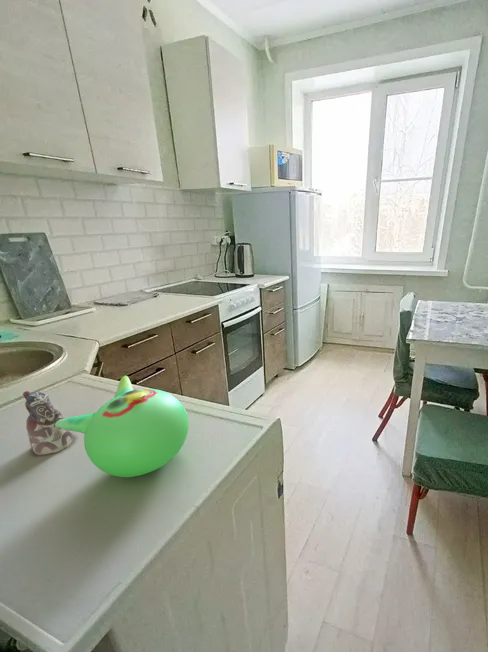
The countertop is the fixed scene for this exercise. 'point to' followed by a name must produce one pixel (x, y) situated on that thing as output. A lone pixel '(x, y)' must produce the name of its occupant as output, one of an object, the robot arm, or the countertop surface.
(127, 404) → the toy bird
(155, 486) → the countertop surface
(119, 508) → the countertop surface
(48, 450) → the figurine
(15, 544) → the countertop surface
